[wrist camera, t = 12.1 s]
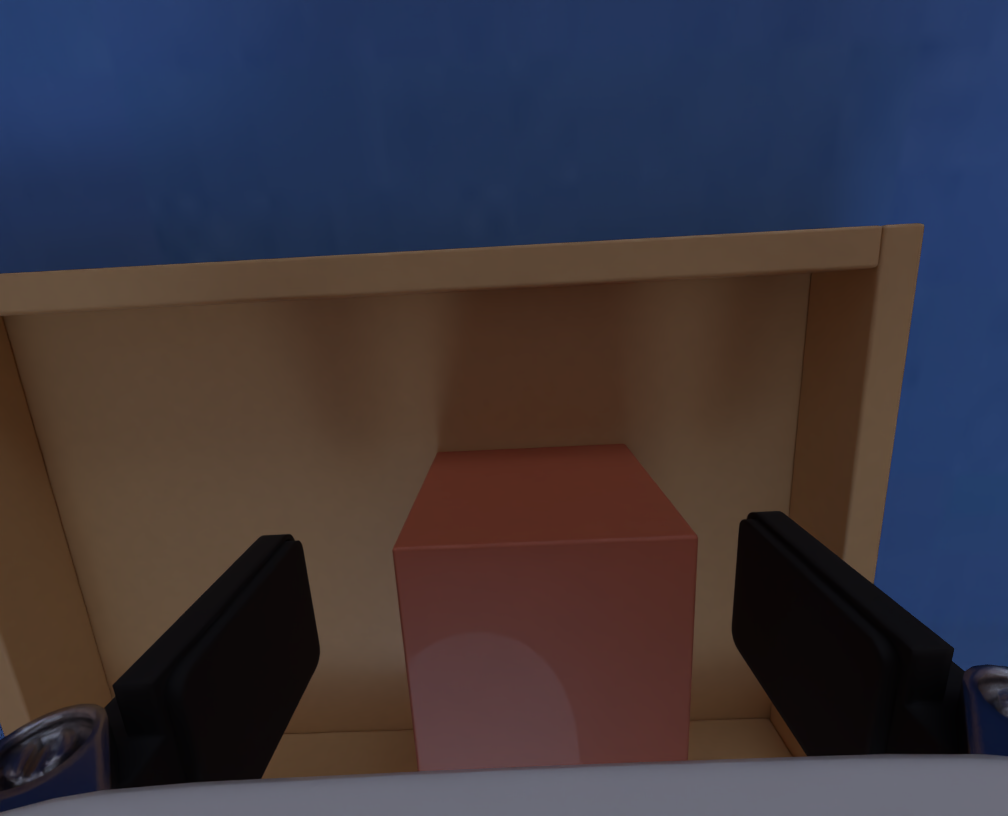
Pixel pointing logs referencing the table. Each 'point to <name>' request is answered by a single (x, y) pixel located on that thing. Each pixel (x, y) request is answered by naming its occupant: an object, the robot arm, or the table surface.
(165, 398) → the tray
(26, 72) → the table surface
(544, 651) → the block
